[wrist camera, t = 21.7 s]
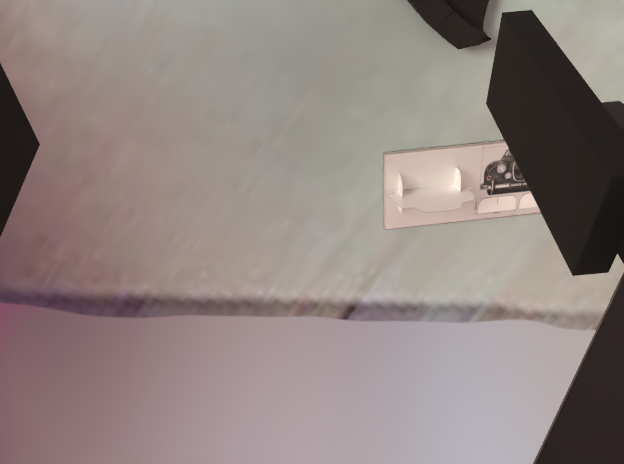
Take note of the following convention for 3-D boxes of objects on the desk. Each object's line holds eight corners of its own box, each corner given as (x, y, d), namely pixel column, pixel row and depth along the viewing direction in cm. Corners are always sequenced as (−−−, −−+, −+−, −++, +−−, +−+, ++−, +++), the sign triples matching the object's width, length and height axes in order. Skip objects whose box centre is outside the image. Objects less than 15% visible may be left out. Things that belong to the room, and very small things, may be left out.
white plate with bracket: (383, 227, 49) (396, 255, 45) (383, 152, 45) (396, 176, 41) (558, 207, 49) (585, 234, 46) (570, 133, 46) (601, 155, 42)
